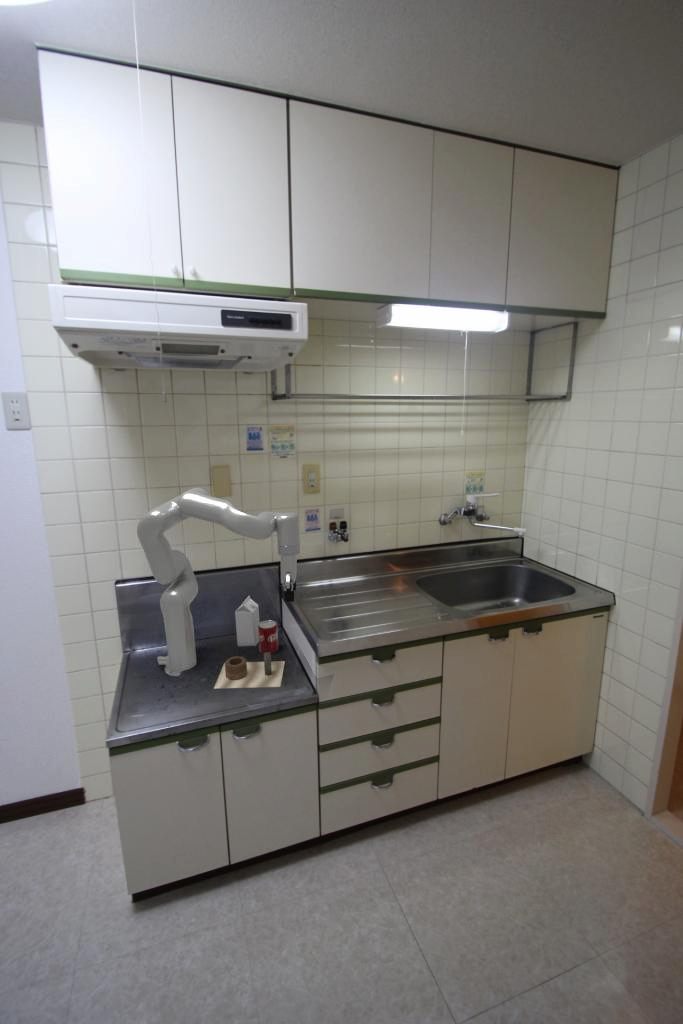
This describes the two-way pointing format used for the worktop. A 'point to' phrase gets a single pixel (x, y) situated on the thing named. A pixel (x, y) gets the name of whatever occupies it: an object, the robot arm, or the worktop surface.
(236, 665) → the bead
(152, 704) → the worktop surface
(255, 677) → the board
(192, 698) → the worktop surface
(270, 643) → the soda can
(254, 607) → the milk carton
